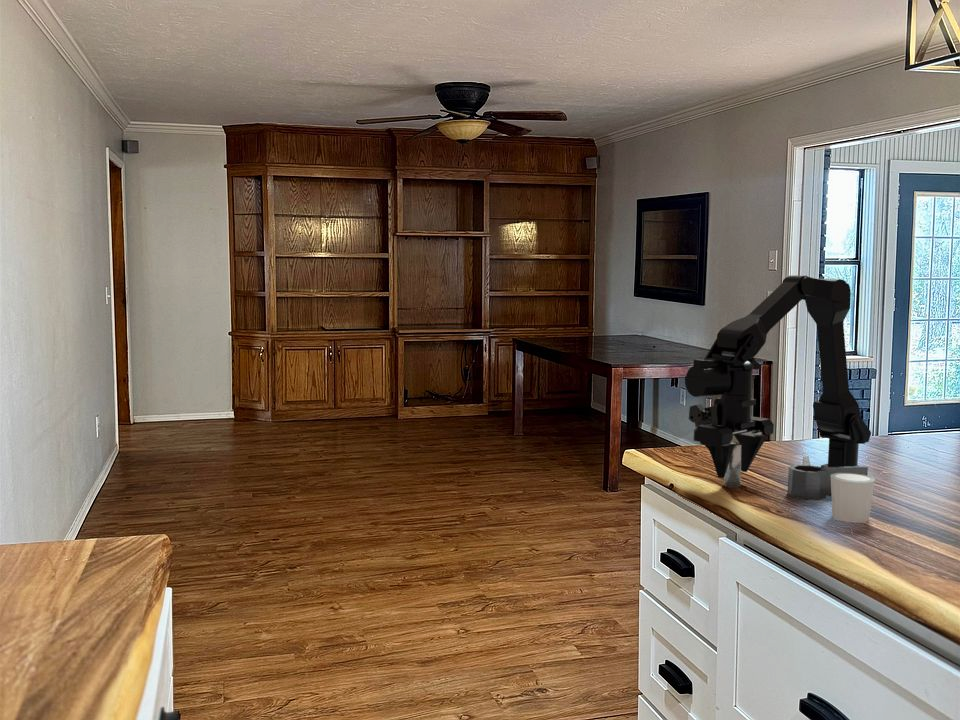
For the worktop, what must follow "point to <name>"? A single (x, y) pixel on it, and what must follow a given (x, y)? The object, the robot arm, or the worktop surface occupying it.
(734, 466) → the hinge pin
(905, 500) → the worktop surface
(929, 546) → the worktop surface
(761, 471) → the worktop surface
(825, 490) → the grey ring with handle
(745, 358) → the robot arm
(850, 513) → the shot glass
